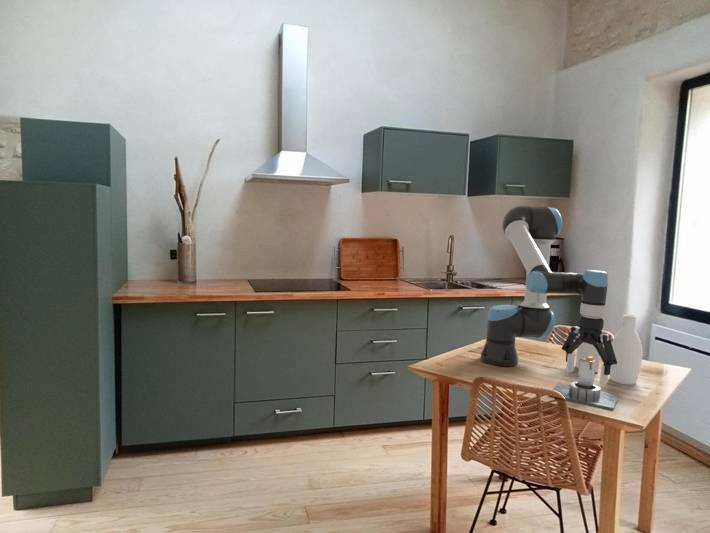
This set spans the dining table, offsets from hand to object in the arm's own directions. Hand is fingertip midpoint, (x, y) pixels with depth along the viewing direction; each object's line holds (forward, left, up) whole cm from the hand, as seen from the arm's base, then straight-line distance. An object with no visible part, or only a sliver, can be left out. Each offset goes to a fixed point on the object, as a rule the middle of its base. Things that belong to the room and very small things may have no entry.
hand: (585, 377), depth 182 cm
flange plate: (0, 0, -7) cm, 7 cm away
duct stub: (0, 0, -6) cm, 6 cm away
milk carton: (-5, +37, -7) cm, 38 cm away
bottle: (+9, +30, -7) cm, 32 cm away
